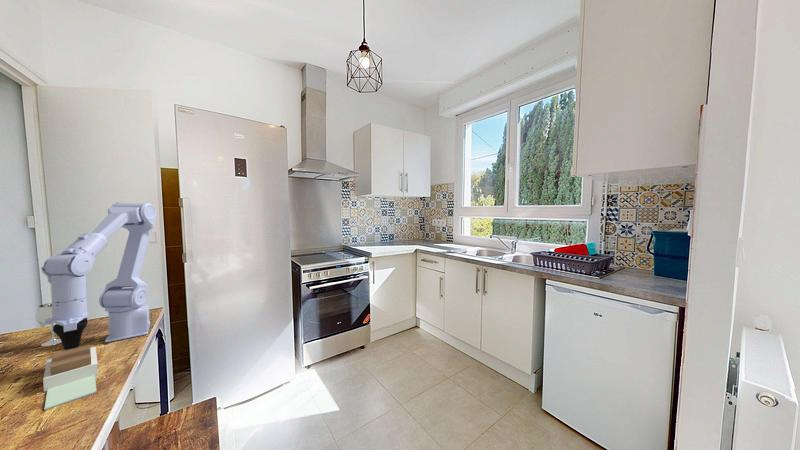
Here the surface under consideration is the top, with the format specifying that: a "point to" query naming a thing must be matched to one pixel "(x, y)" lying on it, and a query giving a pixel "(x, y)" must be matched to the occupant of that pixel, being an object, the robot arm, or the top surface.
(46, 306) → the wineglass
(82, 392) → the mat
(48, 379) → the tray
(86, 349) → the tan cardboard slab
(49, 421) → the top surface
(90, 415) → the top surface
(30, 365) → the top surface
